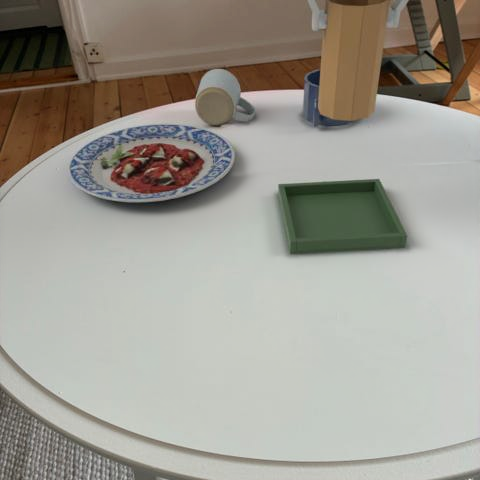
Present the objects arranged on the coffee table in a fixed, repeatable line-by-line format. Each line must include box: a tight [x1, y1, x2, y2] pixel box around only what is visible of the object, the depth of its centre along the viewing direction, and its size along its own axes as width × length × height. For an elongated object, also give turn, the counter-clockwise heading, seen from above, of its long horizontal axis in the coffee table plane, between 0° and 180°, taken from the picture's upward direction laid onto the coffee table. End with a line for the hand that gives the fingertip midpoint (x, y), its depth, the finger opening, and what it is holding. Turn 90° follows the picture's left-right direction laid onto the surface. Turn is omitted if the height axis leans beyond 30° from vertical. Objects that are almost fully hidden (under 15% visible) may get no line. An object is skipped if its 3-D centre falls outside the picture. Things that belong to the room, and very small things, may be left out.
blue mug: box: [302, 68, 356, 128], centre depth 95 cm, size 13×10×7 cm
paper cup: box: [318, 0, 391, 121], centre depth 62 cm, size 7×7×12 cm
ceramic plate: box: [67, 123, 236, 203], centre depth 84 cm, size 26×26×3 cm
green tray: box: [277, 178, 408, 255], centre depth 73 cm, size 15×15×2 cm
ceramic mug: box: [194, 68, 257, 127], centre depth 97 cm, size 11×8×8 cm
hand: (353, 28), depth 60 cm, fingers closed on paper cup, 6 cm apart
